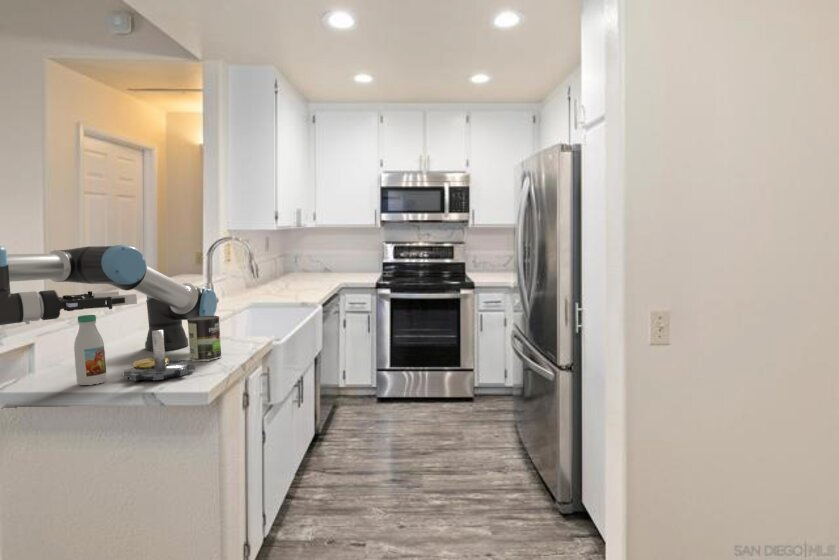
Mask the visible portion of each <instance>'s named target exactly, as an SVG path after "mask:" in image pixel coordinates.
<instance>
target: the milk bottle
mask: <svg viewBox="0 0 839 560" xmlns="http://www.w3.org/2000/svg"><path fill="white" fill-rule="evenodd" d="M77 322H78V325H79V327H78V332H77V335H76V336H75V340H74V343H73V345H74V346H73V349H74V362H75V363H74V364H75V365H74V366H75V375H76V376H75V377H76V383H77V385H78V384H80V385H89V386H94V385H93V384H96V385H100V384H99V383H101V384H103V382H104V383H105V381H106V382H107V380H108V378H107V377H108V376H107V365H106V364H107V363H106V362H107V361H106V353H105V351H106V349H105V343H104V339H103V337H102V335H101V334H100V332H99V330H98V328H97V325H96V323H97V316H96V315H95V314H83V315H78V316H77ZM80 385H79V386H80Z"/></svg>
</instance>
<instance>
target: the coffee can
mask: <svg viewBox="0 0 839 560" xmlns="http://www.w3.org/2000/svg"><path fill="white" fill-rule="evenodd" d="M186 321H187V328H188V346H189V361H191V360H192V361H191V362H195V361H203V362H208V361H207V360H212V361H214V360H213V359H216V360H219V359H221V358H222V357H223V356H222V346H221V344H222V343H221V331H220V330H221V328H220V316H218V315H214V316H199V317H192V318H188V319H187V320H186ZM220 357H221V358H220ZM218 358H219V359H218Z"/></svg>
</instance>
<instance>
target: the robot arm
mask: <svg viewBox="0 0 839 560" xmlns="http://www.w3.org/2000/svg"><path fill="white" fill-rule="evenodd" d="M143 256H144V254H143V253H142V252H141V251H140V250H139V249H137V247H133V246H130V245H124V244H118V245H117V244H116V245H108V246H107V245H98V246H96V245H95V246H81V247H77V248H76V247H75V248H69V249H60V250H59V249H54V250H52V251H50V252H49V253H8V252H7V249H6V248H5V246H2V245H0V326H4V325H14V324H20V323H25V324H26V325H29V324H30V323H31V322H36V321H37V322H38V321H40V320H43V321H48V320H56V319H59V317H60V315H61V310H63V311H67V312H73V311H79V310H86V309H102V308H103V309H104V308H108V310H113V307H118V306H119V307H120V306H128V305H130V306H131V305H137V304H138V302H137V301H138V299H137V293H130V294H128V293H127V294H120V293H119V291H108V292H97V293H95V292H94V293H93V291H90V290H89V291H87V293H82V294H81V293H80V294H71V295H70V294H69V295H67V294H66V295H65V294H64V295H62V296H59V294H58V292H57V290H55V289H53V290H52V289H50V290H48V289H47V290H40V291H38V292H37V291H23V292H15V293H14V292H13V293H12V292H11V285H10V284H11V283H10V282H26V281H41V280H43V281H45V280H50V281H53V282H54V283H76V284H78V283H79V284H88V285H90V284H91V285H110V286H113V287H116V288H118V289H120V290H123V291H131V290H135V291H136V292H138V293H141V294H143V295H145V296H146V307H147V308H146V309H147V319H148V320H147V322H148V331H147V335H146V339H145V340H146V341H145V343H144V347H145V350H146V351H148V352H149V351H152V352H154V351H153V338H152V331H154V330H163V334H164V348H165V351H173V350H178V349H183V348H186V347H188V346H189V337H187V334H186V332H185V329H184V326H183V321H187V319H188V318H192V317H199V316H215V315H216V312H217V311H216V310H217V306H218V299H217V295H216V292H215V291H214V290H213V289H211V288H206V287H205V288H200V287H197V286H196V285H194V284H192V283H187V282H183V283H181V282H179V281H177V280H175V279H173V278H171V277H169V276H167V275H165V274H164V273H161V272H159V271H157V270H155V269H153V267H152V268H151V267H150V266H148V264H147V263H146V259H145V257H143ZM172 349H173V350H172Z"/></svg>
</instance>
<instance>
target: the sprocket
mask: <svg viewBox="0 0 839 560" xmlns="http://www.w3.org/2000/svg"><path fill="white" fill-rule="evenodd" d="M152 338H153V351H152V352H153V357H149V358H143V359H138V360H135V361H133V363H132V368H129V369H124V371H123V378H128V377H129V378H128V379H129V381H137V382H138V381H141V380H143V381H149V380H152V381H159V380H164V379H168V378H173V377H177V376H179V377H181V376H184V375H187V374H189V373H188V371H193V370H195V362H189V360H187V359H179V360H169V358H168V357H166V350H165V348H164V334H163V330H154V331H152Z"/></svg>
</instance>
